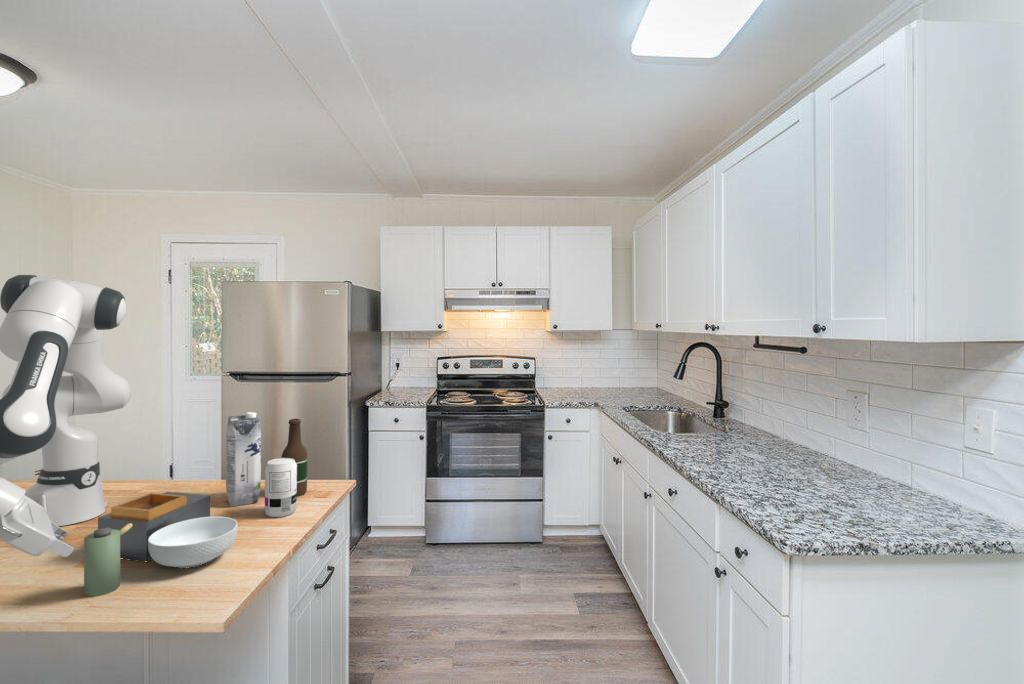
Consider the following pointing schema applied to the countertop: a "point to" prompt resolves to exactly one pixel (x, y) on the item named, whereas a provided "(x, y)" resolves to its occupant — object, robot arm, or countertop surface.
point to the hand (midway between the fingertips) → (67, 544)
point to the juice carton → (243, 459)
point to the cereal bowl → (192, 541)
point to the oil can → (102, 561)
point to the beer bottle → (297, 455)
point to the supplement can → (280, 487)
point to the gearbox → (151, 518)
